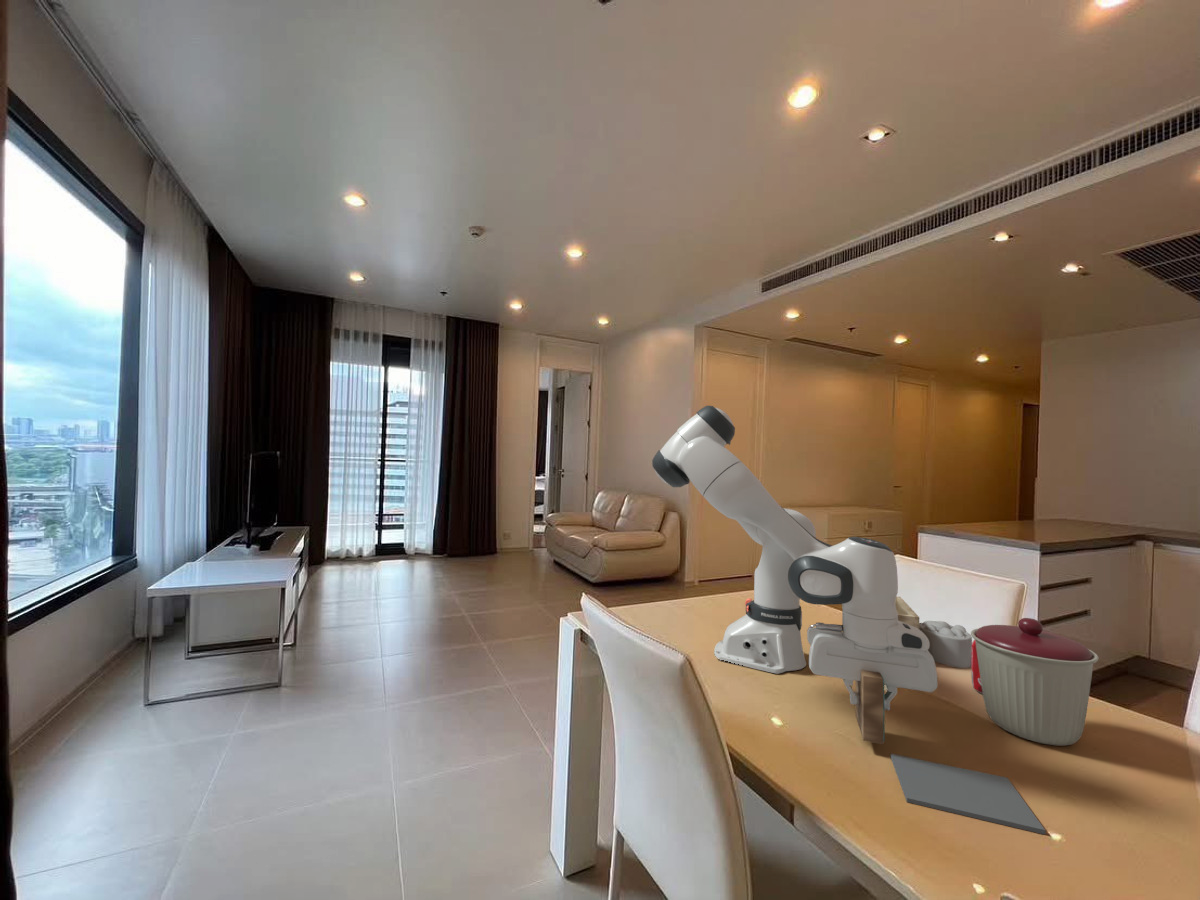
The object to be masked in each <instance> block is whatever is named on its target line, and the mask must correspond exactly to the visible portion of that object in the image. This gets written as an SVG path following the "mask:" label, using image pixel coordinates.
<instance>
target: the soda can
mask: <svg viewBox="0 0 1200 900" xmlns="http://www.w3.org/2000/svg"><path fill="white" fill-rule="evenodd" d="M970 670H971V672H970V673H971V674H970V675H971V685H972V688H973V689H974V690H976V691H977V692H978V693H979V694H981V695H982V696H983V692H982V686H981V679H980V672H979V665H978V657H977V650H976V642H975V639H973V640H972V648H971V667H970Z"/></svg>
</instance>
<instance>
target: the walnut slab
mask: <svg viewBox="0 0 1200 900" xmlns="http://www.w3.org/2000/svg"><path fill="white" fill-rule="evenodd" d="M855 692H859V695H860V705H855V718H856V721H857V724H858V725H857V726H858V727H859V730H860V733H861V737H862V740H863V741H864V742H869V743H874V744H880V745H884V743H885V742H886V741H885V739H886V738H885V737H886V735H885V731H886V730H885V728H886V727H885V723H886V722H885V711H886V710H884V695H885V685H884V678H883V676H882V675H881V674H880V673H879V672H872V671H865V670H861V681H855Z"/></svg>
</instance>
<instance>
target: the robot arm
mask: <svg viewBox="0 0 1200 900" xmlns="http://www.w3.org/2000/svg"><path fill="white" fill-rule="evenodd" d="M735 432H736V428H735V426H734V423H733V421H732V419H731V417H730V416H729V415H728V413H726V412H725V411H724V410H722V409H720V408H718V407H715V406H713V405H705V406H703V407H702V408H700V409H699V410H697V411H696V414H695V415H692V417H690V418H689V419H688V420H686V422H684V423H683V424H682V425H680V426H679V428H678V429H676V432H675V433H674V434H673V435H672V436H671V437H670V438H668V440H667V441H666V442H665V444H664V445H663V446H662V447H661V449H660V450H657V452H656V453H655V454H654V456H653V458H652V460H651V461H652V463H651V465H652V468H653V469H654V472H655V475H656V476H657V477H658V479H659V480H661V482H663V483H665V484H666V485H668V486H671V487H672V488H682V487H683V486H686V485H689V484H690V483H692V485H693V486H694V488H695V489H696V490H697V491H698V492H699V493H700V495H701V496H702V497H703V498H704V499H705V500H706V501H707V502H708V503H709V504H710V506H712V507H713V508H714V509H715V510H716V511H718V512H719V513H720V514H722V515H724V516H725V517H726V518H728V519H732V520H734V521H736V522H737V523H738V524H739V525H740V526H741V528H742V529H743V530H744V531H745V532H746V533H747V534H748V536H749V537H750V538H751V539H752V540H753V541H754V542H755V543H757V544H759V545H760V546H762V549H761V550H762V551H761V555H760V559H759V563H758V566H757V567H756V568H755V569H754V574H753V575H754V578H753V579H754V583H753V584H754V585H753V587H754V589H753V593H754V594H753V597H754V598H753V599H752V598H746V600H745V603H744V604H745V614H744V615H743V616H741V617H740V618H738V619H737V620H735V621H733V622H732V623H730V624H729V625H728V626H727V627H726V629H725V632H724V634H723V639H722V640H720V641H718V642H717V643H716V644H715V646H714V649H713V651H714V652H713V655H714V654H715V655H714V657H715V656H716V657H717V658H718V659H720V660H719V661H721V660H724V661H723V662H725V661H728V662H727V663H729V662H731V664H734V663H735V664H734V665H738V664H739V665H738V666H742V665H743V666H742V667H747V668H751V669H754V670H759V671H763V672H768V673H772V674H776V675H777V674H782V673H785V672H790V671H797V670H799V671H800V670H802V669H803V668H805V667H806V666H807V661H806V658H805V654H804V649H803V642H802V636H801V633H802V632H801V629H802V627H803V611H802V606H801V601H800V600H802V601H803V602H805V603H807V604H809V605H810V604H811V605H820V606H821V605H823V606H824V605H829V606H830V605H831V606H832V605H833V606H834V605H842V606H841V607H842V611H841V612H842V615H841V616H842V618H841V619H842V622H841V623H842V624H837V623H824V622H815V623H814V624H811V625H809V626H808V628H807V631H806V632H807V634H806V635H807V638H806V639H807V642H808V644H809V645H810V647H809V652H808V666H809V670H811V672H812V673H813V674H814V675H817V676H825V677H829V678H836V679H842V681H843V683H844V686H845V688H846V690H847V691H848V693H849V702H850V705H855V706H856V705H860V695H859V692H856V690H855V691H854V689H853V686H854V682H856V681H861V670H865V671H872V672H879V673H880V674H881V675H882V676H883V678H884V686H885V687H886V689H887V691H886V692H884V710H885V711H891V701H892V700H893V699H894V698H895V697H896V695H897V694H898V688H900V689H902V688H903V689H907V690H914V691H921V692H927V693H932V692H933V693H934V691H936V690H937V688H938V675H937V673H938V672H937V667H936V662H935V661H934V658H933V657H932V655H931V654H930V652H929V651H928V649H929V646H930V643H929V640H928V638H927V637H926V635H925V634H924V633H923V632H922V631H920V630H919V629H918V628H916V627H914V626H911V625H909V624H906V623H903V622H901V621H898V613H897V610H896V606H895V600H896V596H897V597H898V593H899V583H898V582H899V581H898V579H899V578H898V577H899V576H898V568H897V567H898V566H897V560H896V556H895V553H894V552H893V550H892V549H891V548H890V547H889V546H888V545H887V544H885V543H883V542H880V541H878V540H876V539H875V540H874V539H871V538H867V537H859V536H849V537H848V538H846V539H845V540H843V541H841V542H839V543H837V544H834V545H832V544H829V543H827V542H824V541H822V540H820V539H818V538H817V537H816V535H817V531H816V528H815V525H814V524H813V522H812V521H811V519H809V518H808V517H807V516H806V515H804V514H803V513H801V512H799V511H798V510H794V509H791V508H785V507H782V506H781V505H780V504H779V503H778V502H777V500H775V498H774V497H773V496H772V495H771V493H769V491H768V490H767V489H766V487H764V485H763V483H762V482H761V481H760V480H759V478H758V477H757V476H755V474H754V473H753V472H752V470H750V469H749V468H748V467H747V466H746V464H744V463H743V462H742V460H740V459H739V458H738V457H737V456H736V455H735V454H734V453H732V451H730V450H729V449H728V448H726V445H728V446H731V442H732V440H733V438H734V437H735V436H736V435H735ZM716 657H715V658H716ZM717 658H716V659H717ZM718 659H717V660H718Z"/></svg>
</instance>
